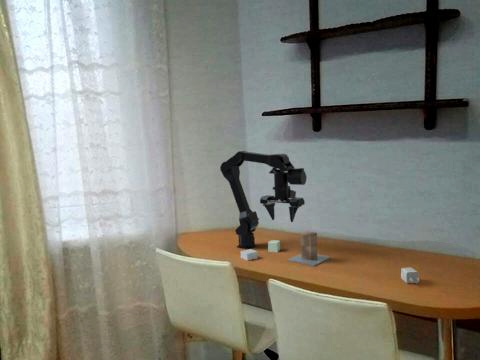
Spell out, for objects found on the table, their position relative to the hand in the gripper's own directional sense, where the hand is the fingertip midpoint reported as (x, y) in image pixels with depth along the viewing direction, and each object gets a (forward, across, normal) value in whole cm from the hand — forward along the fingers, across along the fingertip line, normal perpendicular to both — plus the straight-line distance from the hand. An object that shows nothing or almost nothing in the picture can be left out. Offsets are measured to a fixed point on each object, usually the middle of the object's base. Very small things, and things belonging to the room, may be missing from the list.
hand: (282, 221), depth 184 cm
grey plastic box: (+13, +7, +15) cm, 21 cm away
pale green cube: (+13, +4, +1) cm, 14 cm away
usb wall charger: (+13, -56, +10) cm, 58 cm away
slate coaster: (+13, -15, +5) cm, 20 cm away
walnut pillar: (+12, -15, +5) cm, 20 cm away
